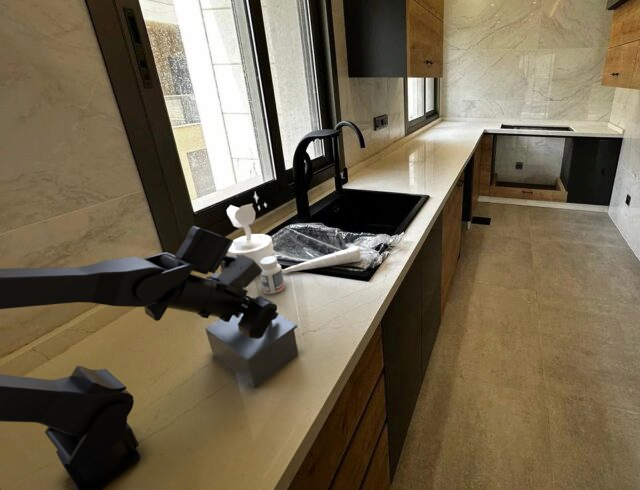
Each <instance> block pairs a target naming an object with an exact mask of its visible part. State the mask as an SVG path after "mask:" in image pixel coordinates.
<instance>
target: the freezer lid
mask: <svg viewBox="0 0 640 490" xmlns="http://www.w3.org/2000/svg"><path fill="white" fill-rule="evenodd" d="M242 316H243V313H241V315H240V317H239V318H237V317H235V316H234V315H233V316H232V317H231V319H230V321H229V322H225V321H223V320H221V319H220V318H219V320H217V321H215V322H213V323H211V324H210V325H208V326H207V327H205V328H204V330H205V332H206V331H207V332H209V333H210V334H211V335H212V336H214V337H215V338H216V339H218V340H219V341H220V342H222V343H223V344H224V345H226V346H227V347H228V348H230V349H231V350H232V351H234V352H235V353H236V354H238V355H239V356H240V357H242V358H243V359H244V360H246V361H247V362H249V361H251V360H252V359H254V358H255V357H256V356H258V355H259V354H261V353H262V352H263V351H265V350H266V349H268V348H269V347H270V346H272V345H273V344H275V343H276V342H277V341H279V340H280V339H282V338H283V337H284V336H286V335H287V334H289V333H290V332H291V331H293V330H294V331H295V330H296V329H297V328H298V324H296V323H295V322H293V321H291V320H289V319H288V318H287V317H284V316H282V315H281V314H280V313H278V316H277V318H276V319H274V320H271V322H270V324H269V326H268V327H267V329H266V331H265V333H264V335H263V337H262V338H260V339H255V338H250V337H248V336H247V335H245V334H244V333H242V332H241V331H240V330H239V328H238V323H239V321H240V319H241V318H242Z"/></svg>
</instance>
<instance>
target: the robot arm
mask: <svg viewBox="0 0 640 490" xmlns="http://www.w3.org/2000/svg"><path fill="white" fill-rule="evenodd" d="M233 240H234V239H231V238H229V237H227V236H223V235H221V234H218V233H215V232H212V231H210V230H207V229H203V228H200V227H199V226H198V227H197V226H195V225H192V226H191V227H190V229H189V230H188V232H187V233H186V237H185V239H184V240H183V242H182V243H181V245H180V247H179V249H178V250H177V251H176V253H175V255H174V254H172V253H170V252H166V251H165V252H161V253H157V254H153V255H151V256H147V257H138V256H129V257H121V258H113V259H106V260H101V261H99V262H96V263H92V264H88V265H83V266H73V267H71V266H70V267H69V266H67V267H25V268H24V267H21V268H20V267H19V268H18V267H17V268H0V310H7V309H17V308H29V307H41V306H50V305H52V306H53V305H63V304H74V303H90V304H97V305H104V306H110V307H111V306H112V307H126V308H128V307H129V308H131V307H132V308H144V313H145V315H147V317H150V318H151V319H153V320H154V321H155V322H158V321H160V320H161V319H162V317H163V316H164V315H165V313H166V311H167V310H168V309H172V310H176V311H177V310H178V311H182V312H187V313H194V314H196V315H198V316H199V317H201V318H203V319H209V317H216V318H218V319H219V320H220V319H221V320H223V321H225V322H229V321H230V319H231V317H232V316H233V315H234V316H235V317H237V318H239V317H240V315H241V313H243V316H242V318H241V319H240V321H239V323H238V328H239V330H240V331H241V332H242V333H244V334H245V335H247V336H248V337H250V338H255V339H260V338H262V337H263V335H264V333H265V331H266V329H267V327H268V326H269V324H270V322H271V320H274V319H276V318H277V316H278V314H279V312H277V311H278V304H276V303H275V302H273V301H271V300H269V299H267V298H266V297H264V296H262V295H259V296H256V297H251V296H249V295H247V294H248V293H249V290H247V289H246V288H247V287H249V286H250V284H251V283H252V282H254V281H255V279H256V278H258V277H260V276H259V275H260V274H261V273H262V269H261V267H260V266H259V265H258V264H257V263H256V262H255V261H254V260H253V259H251V258H249V257H247V256H245V255H238V254H237V255H236V257H233V256H230V255H228V250H229V249H230V247H231V245H232V244H233V242H234V241H233ZM219 268H220V269H219ZM218 269H219V271H220V273H219V272H217V271H218ZM192 272H196V273H200V274H203V275H208V274H209V273H211V274H210V275H209V276H206V277H204V276H200V275H197V274H193V273H192ZM257 276H258V277H257ZM134 403H135V400H134V396H133V395H132V393H130V392H129V391H128V390H127V386H126V385H124V383H122V382H121V381H120V380H119V378H117V377H116V376H114V374H112V373H111V372H110V371H109V370H108V369H107V368H101V369H91V368H87V367H86V366H85V367H84V366H82V365H76V366H75V368H74V369H73V371H72V373H71V374H70V375H69V376H65V377H61V378H57V379H45V378H36V377H27V376H18V375H11V374H0V422H1V423H35V424H40V425H43V426H45V427H47V428H46V429H45V431H44V434H45V435H46V436H47V437H48V439H49V441H50V442H51V444H53V446H54V447H55V448H56V451H55V452H56V455H57V457H58V459H59V461H60V463H61V464H62V466H63V468H64V470H65V471H66V472H67V474H68V476H69V478H70V480H71V482H72V484H73V486H74V488H75V490H102V489H103V488H104V487H106V486H107V485H109V484H110V483H111V482H112V481H114V480H115V479H116V478H117V477H119V476H120V475H122V474H123V473H124V472H126V471H127V470H128V469H129V468H131V467H132V466H133V465H135V464H136V463H138V462H139V461H140V460H141V458H142V456H141V454H140V452H139V451H138V449H137V448H139V445H140V443H139V442H138V440H137V438H136V435H135V433H134V431H133V428H132V426H130V425H129V423H128V416H129V415H130V413H131V411H132V409H133V407H134Z"/></svg>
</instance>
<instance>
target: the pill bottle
mask: <svg viewBox="0 0 640 490" xmlns="http://www.w3.org/2000/svg"><path fill="white" fill-rule="evenodd" d="M260 264H261V267H262V268H261V269H262V273H261V274H260V276H259V277H260V280H261V285H262V290H263V292H264V293H265V294H269V295H273V294H277V293H279V292H281V291H283V289H284V288H285V286H286V285H285V281H284V274H283V272H282V270H283V269H282V266H281V264H279V263H278V258H277V257H276V256H272V255H271V256H270V257H266V258H263V259H262V260H261V261H260Z"/></svg>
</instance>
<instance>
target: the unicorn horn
mask: <svg viewBox="0 0 640 490" xmlns="http://www.w3.org/2000/svg"><path fill="white" fill-rule="evenodd" d="M361 261H362V255H361V250H360V247H359V246H358V245H354V246H351V247H348V248H345V249H342V250H339V251H335V252H333V253H329V254H325V255H322V256H321V257H315V258H312V259H309V260H306V261H304V262H301V263H297V264H295V265H292V266H289V267H287V268H284V269H282V273H290V272H298V271H299V272H300V271H305V270H307V271H308V270H313V269H319V268H327V267H332V266H339V265H345V264H351V263H358V262H361Z"/></svg>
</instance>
